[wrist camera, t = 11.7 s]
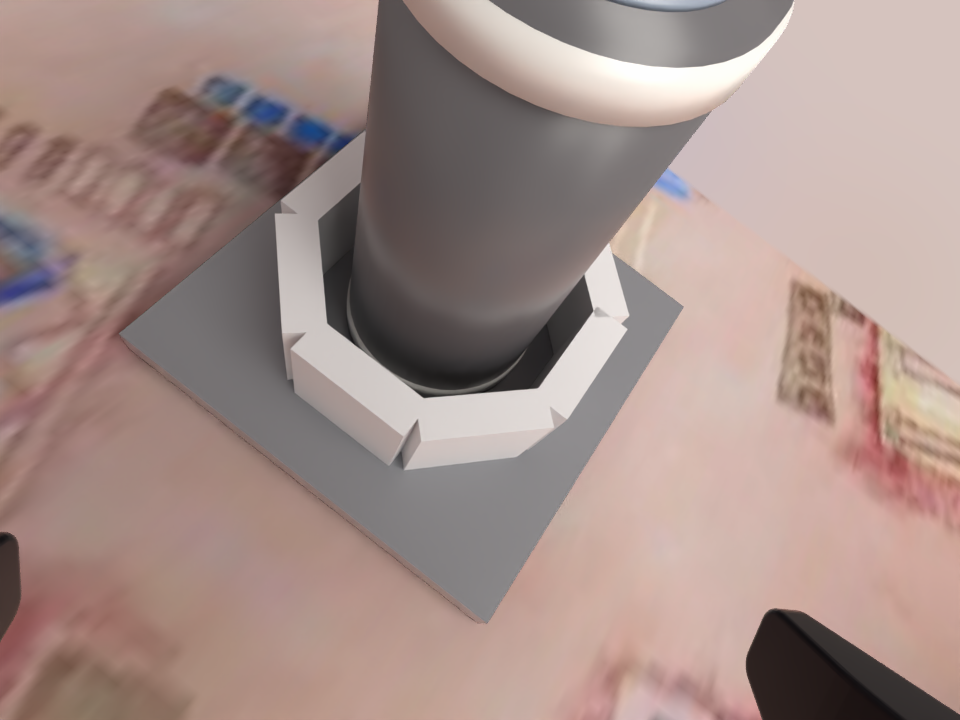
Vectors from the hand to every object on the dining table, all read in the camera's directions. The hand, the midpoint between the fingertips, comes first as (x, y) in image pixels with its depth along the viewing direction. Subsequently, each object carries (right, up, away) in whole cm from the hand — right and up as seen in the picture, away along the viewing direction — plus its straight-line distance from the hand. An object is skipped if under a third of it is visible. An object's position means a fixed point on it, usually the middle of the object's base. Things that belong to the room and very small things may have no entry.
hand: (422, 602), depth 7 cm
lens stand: (-1, +4, +12) cm, 12 cm away
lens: (-1, +4, +11) cm, 12 cm away
